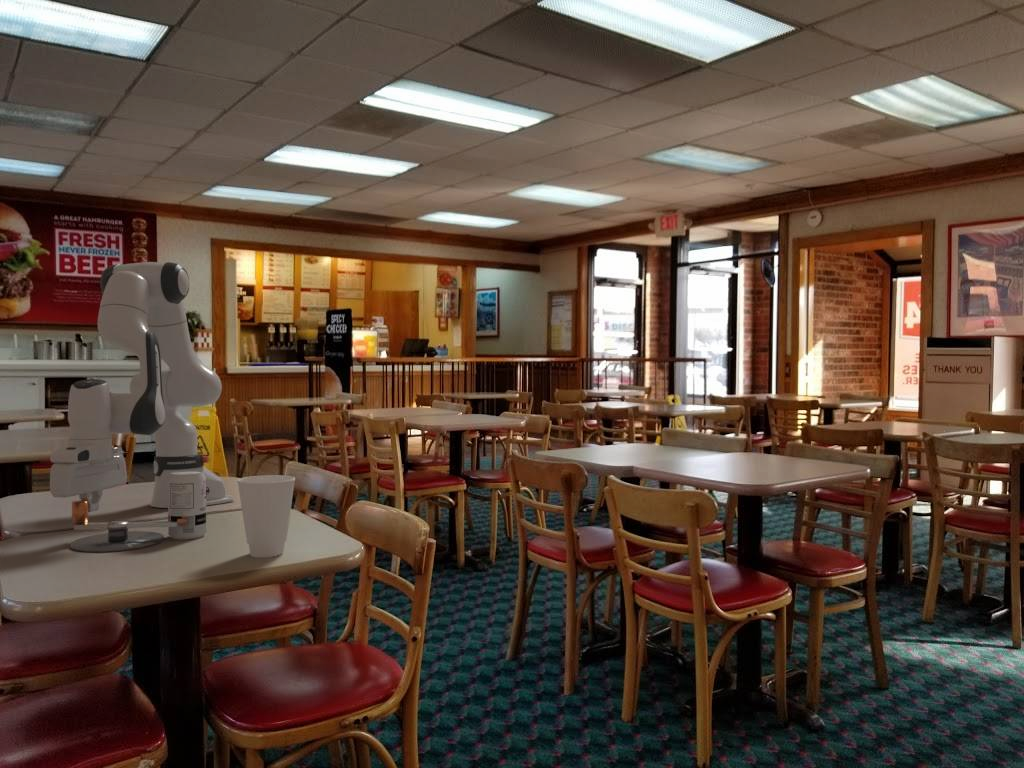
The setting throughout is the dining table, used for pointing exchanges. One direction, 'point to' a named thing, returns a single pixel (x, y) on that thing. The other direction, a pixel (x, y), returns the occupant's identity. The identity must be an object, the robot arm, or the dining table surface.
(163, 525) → the crank
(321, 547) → the dining table surface
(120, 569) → the dining table surface
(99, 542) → the dial plate
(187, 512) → the supplement can
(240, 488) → the cup
